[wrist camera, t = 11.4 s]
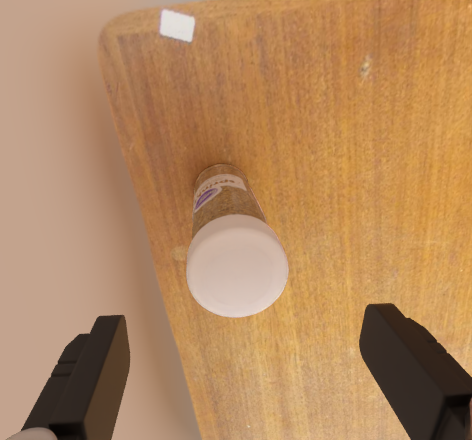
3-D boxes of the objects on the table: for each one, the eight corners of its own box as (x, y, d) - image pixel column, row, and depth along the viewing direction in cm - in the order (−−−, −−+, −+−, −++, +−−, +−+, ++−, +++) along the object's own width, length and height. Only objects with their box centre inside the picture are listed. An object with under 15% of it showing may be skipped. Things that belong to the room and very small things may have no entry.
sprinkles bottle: (213, 151, 25) (223, 209, 13) (260, 182, 26) (312, 262, 14) (182, 199, 26) (165, 294, 14) (229, 226, 28) (251, 336, 15)
